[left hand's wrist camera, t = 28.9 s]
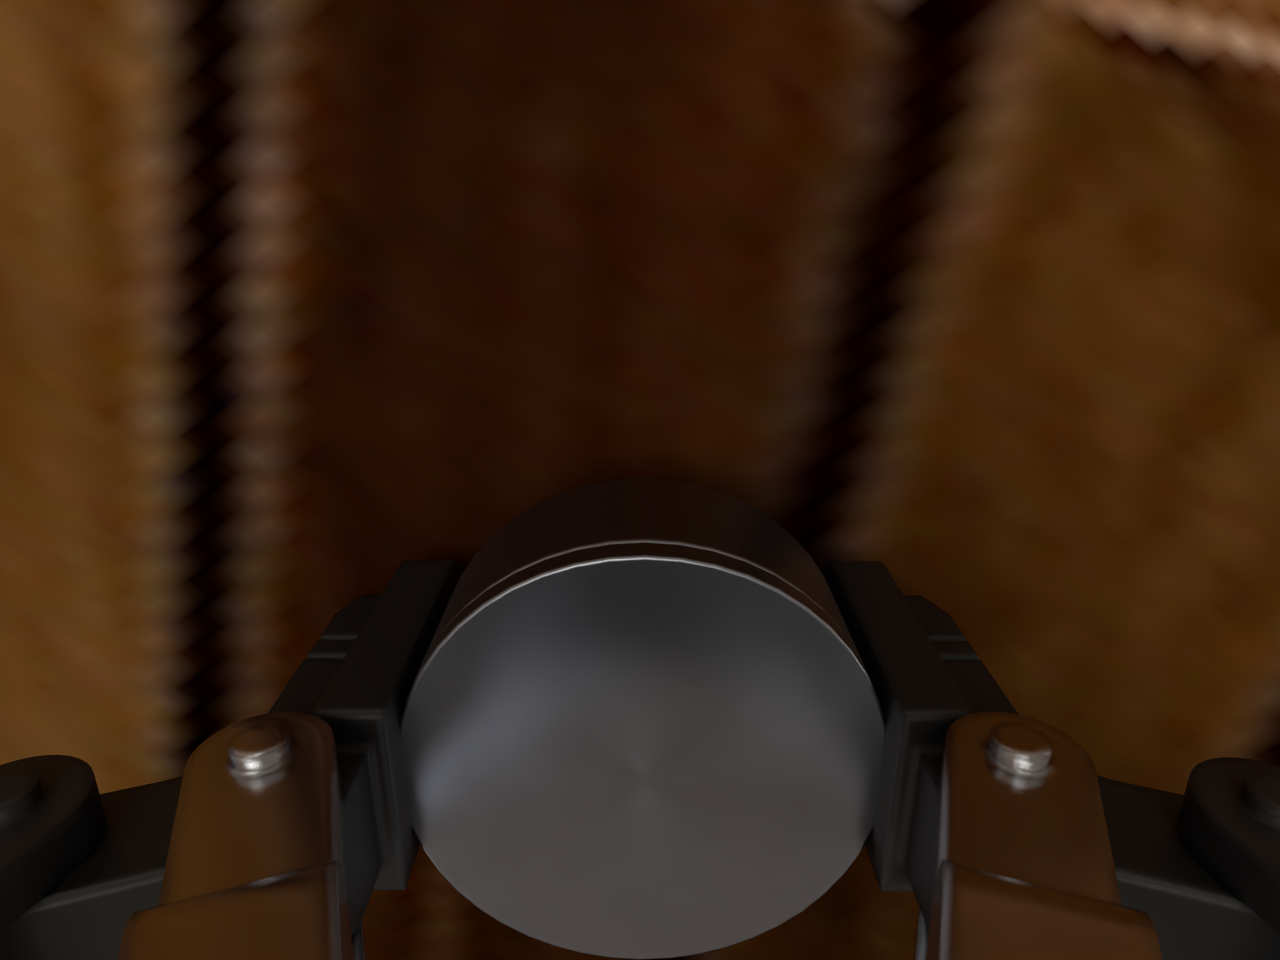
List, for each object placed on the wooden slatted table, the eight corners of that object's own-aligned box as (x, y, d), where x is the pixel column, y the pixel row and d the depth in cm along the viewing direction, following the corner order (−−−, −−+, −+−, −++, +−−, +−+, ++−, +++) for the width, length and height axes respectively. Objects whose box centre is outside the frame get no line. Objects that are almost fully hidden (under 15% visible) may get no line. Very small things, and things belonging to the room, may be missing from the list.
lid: (455, 448, 10) (406, 523, 8) (884, 505, 10) (948, 592, 8) (430, 799, 12) (386, 935, 10) (797, 840, 12) (830, 982, 10)
